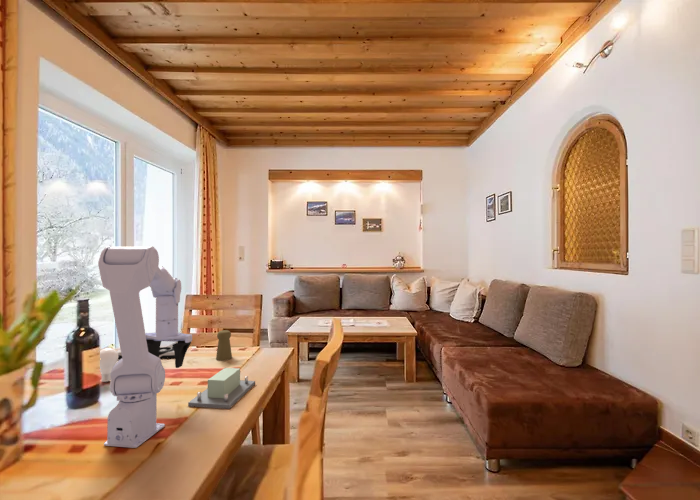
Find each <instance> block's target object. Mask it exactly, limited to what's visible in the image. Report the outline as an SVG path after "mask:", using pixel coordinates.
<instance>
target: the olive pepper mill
mask: <svg viewBox="0 0 700 500" xmlns="http://www.w3.org/2000/svg"><path fill="white" fill-rule="evenodd" d="M216 336H217V339H218V343H217V348H216V349H217V350H216V356H215V360H216V361H218V362H219V361H221V362H223V361H229V360H232V358H233V354H232V347H231V340H230V339H231V336H232V332H231V331H230V330H228V329H225V330H224V329H223V330H220V331H218V332H217V334H216Z"/></svg>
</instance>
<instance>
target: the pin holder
mask: <svg viewBox="0 0 700 500" xmlns="http://www.w3.org/2000/svg"><path fill="white" fill-rule="evenodd" d="M255 385H256V381H255V380H249V376H248V375H245V376H244V380H241V379H240V385H239V386H238V387H237V388H235V389H234V390H233V391H232V392H231V393H230V394H229V395H228V393H226V394H224V398H210V397H208V387H207V388H206V389H204V390H203V391H198V392H197V393H196V394H197V395H196V396H195V397H193V398H192V399H191V400H190V401H188V402H187V403H188V404H187V405H188V407H194V406H195V407H196V408H212V409H227V410H230V409H231V408H232V407H233V406H234V405H235V404H236V403H237V402H238V401H239V400H240V399H242V397H243V396H245V394H247V392H249V391H250V390H251V389H252V388H253V386H255ZM195 407H194V408H195Z"/></svg>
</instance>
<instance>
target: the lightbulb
mask: <svg viewBox="0 0 700 500" xmlns="http://www.w3.org/2000/svg"><path fill="white" fill-rule="evenodd" d="M99 351H100V358H101V360H100V369H101V370H100V369H99V372H100V376H101V377H100V378H101V382H102V383H108V382H111V375H110V373H111V370H112V368H113V367H114V365H115V364H116V363H117V362H118V361H119V360H118V357H119V356H118V352H117V350H116V349H114V348H112V347H104V348H102V349H100V350H99Z"/></svg>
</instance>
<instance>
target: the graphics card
mask: <svg viewBox="0 0 700 500" xmlns="http://www.w3.org/2000/svg"><path fill="white" fill-rule="evenodd" d="M116 351H117V352H118V356H119V357H118V360H117V361H119V360H120V359H122V354H121V349H120V348H119V349H117V350H116ZM159 358H160V359H161V360H165V359H167V360H168V359H175V353H174V349H173V346H162V347H161V346H160V349H159Z"/></svg>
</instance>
